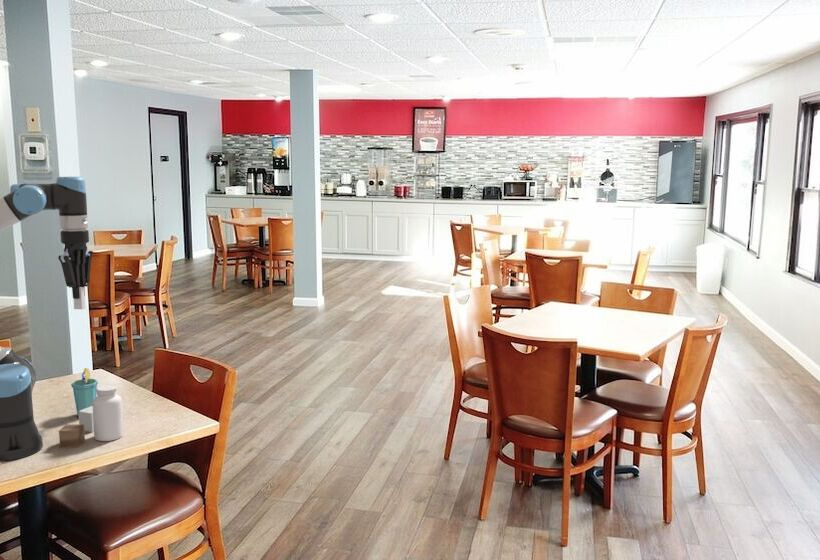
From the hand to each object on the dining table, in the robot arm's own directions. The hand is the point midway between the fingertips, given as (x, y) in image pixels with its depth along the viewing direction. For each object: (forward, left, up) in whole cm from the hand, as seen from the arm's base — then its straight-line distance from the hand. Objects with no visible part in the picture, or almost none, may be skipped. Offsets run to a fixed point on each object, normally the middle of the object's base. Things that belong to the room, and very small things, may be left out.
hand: (79, 308), depth 218 cm
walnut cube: (-14, -5, -37) cm, 39 cm away
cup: (+8, +6, -37) cm, 38 cm away
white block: (-2, -3, -37) cm, 37 cm away
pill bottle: (-7, -12, -37) cm, 39 cm away
